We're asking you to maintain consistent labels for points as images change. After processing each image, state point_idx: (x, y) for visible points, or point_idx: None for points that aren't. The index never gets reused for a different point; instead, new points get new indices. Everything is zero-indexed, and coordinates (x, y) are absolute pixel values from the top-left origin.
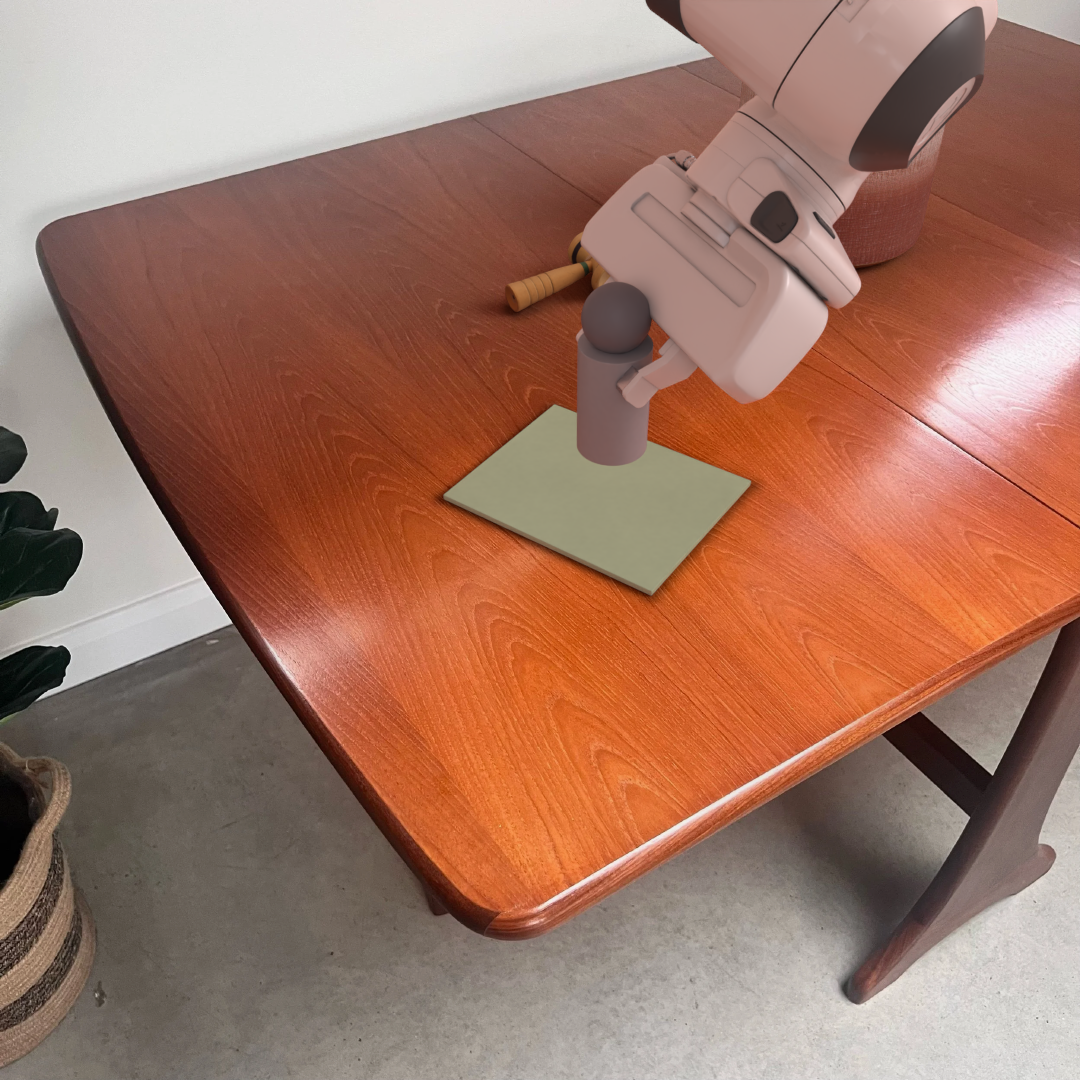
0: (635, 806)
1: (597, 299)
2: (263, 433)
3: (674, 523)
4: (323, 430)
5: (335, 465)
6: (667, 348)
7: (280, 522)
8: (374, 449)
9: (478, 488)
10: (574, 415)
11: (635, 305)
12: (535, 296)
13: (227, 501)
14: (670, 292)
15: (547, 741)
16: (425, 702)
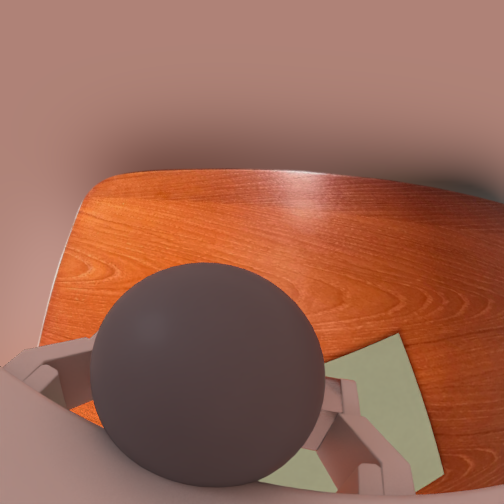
0: (77, 262)
1: (211, 277)
2: (501, 261)
3: None
4: (494, 296)
5: (462, 284)
6: (33, 375)
7: (422, 227)
8: (467, 317)
9: (391, 362)
10: (422, 483)
11: (95, 367)
12: None
13: (450, 213)
14: (40, 486)
15: (140, 253)
16: (218, 214)
